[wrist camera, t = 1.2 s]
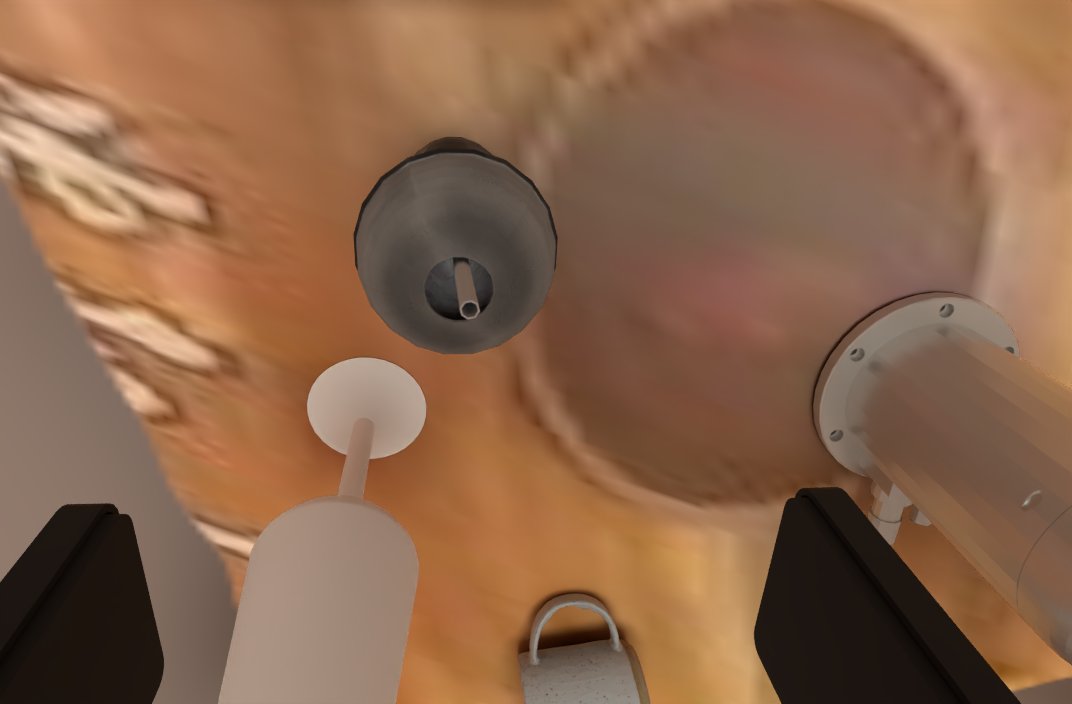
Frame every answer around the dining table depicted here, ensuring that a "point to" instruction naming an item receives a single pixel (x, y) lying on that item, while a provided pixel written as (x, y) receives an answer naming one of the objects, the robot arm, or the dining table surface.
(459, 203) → the beverage cup
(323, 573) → the champagne flute
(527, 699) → the ceramic mug
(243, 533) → the dining table surface
